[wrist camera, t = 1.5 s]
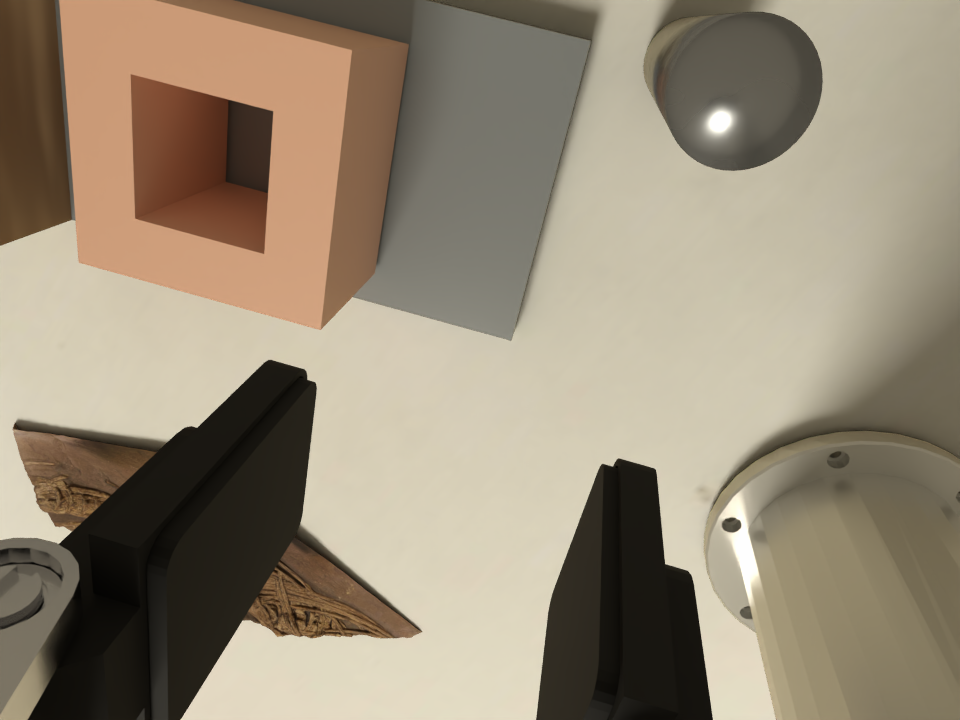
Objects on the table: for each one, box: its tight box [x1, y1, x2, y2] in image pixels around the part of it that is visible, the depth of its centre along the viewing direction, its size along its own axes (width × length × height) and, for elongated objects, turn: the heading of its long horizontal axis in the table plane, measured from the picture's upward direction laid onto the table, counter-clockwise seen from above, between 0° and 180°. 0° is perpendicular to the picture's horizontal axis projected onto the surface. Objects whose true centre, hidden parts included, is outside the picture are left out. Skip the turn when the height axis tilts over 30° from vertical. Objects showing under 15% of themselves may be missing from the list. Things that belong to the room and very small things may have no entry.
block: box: [59, 0, 409, 330], centre depth 24 cm, size 9×9×6 cm
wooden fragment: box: [13, 424, 422, 638], centre depth 39 cm, size 26×11×1 cm, turn 61°
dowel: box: [644, 12, 823, 171], centre depth 19 cm, size 3×3×12 cm
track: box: [55, 0, 592, 341], centre depth 28 cm, size 25×12×1 cm, turn 78°
